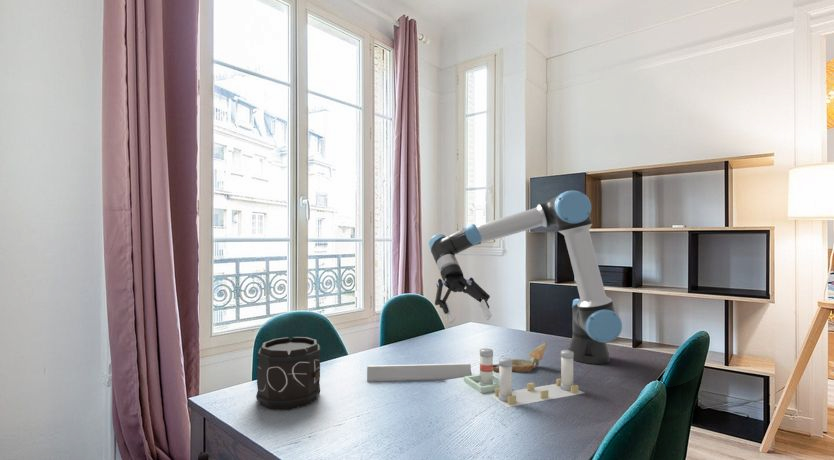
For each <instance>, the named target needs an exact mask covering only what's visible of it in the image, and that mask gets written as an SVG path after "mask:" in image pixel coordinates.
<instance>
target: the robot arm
mask: <svg viewBox="0 0 834 460" xmlns="http://www.w3.org/2000/svg"><path fill="white" fill-rule="evenodd" d="M591 212H592V203H591V200H590V198H589V197H588V196H587V195H586V194H585V193H583V192H581V191H579V190H566V191H563V192H561V193H560V194H558V195H556V196H555V197H552V198H551V199H549V200H547V201H544V202H542V203H538V204H537V205H536V207H533V208H530V209H528V210H527V209H526V210H524V211H521V212H520V211H519V212H516V213H513V214H510V215H507V216H504V217H501V218H498V219H493V220H490V221H487V222H484V223H481V224H477V225H476V224H475V223H471V224H469V225H466V226H465V227H463V228H461V229H459V230H457V231H455V232H453V233H451V234H450V235H449V234H448V235H447V236H446V234H444V233H438V234H435V235H433V236H432V237H431V238H430V239H429V241H428V246H429V249H430V253H431V254H432V257H433V259H434V261H435V264H436V266H437V269H438V271H439V273H440V276H441V278H438V280H437V282H436V287H437V288H436V293H435V294H436V295H435V299H434V301H435V302H434V305H435V306H439V308H440V309H442V312H443V313H444V314H445V315H446V316H447V318H448V320H449V323H450V324H451V325H452V324H454V321H455V320H456V317H455V314H454V312H453V309H452V307H451V305H450V302H449V301H447V300H448V298H449V296H450V294H451V292H453V293H457V292H458V293H462V292H463V293H464V294H467V295H469V296H470V297H472V298H473V299H474V300H475V301H477V302H478V303H479V307H480V309H481V311H482V313H483V316H484V317H485V320H486V321H489V320H490V318H491V317H492V313H491V311H490V305H489V303H488V300H489V299H490V297H491V295H490V294H488V293H487V292H486V291H485V290H484V289H483V288H482V287H481V286H480V285H479V284H478V283H477V282H476V281H475V279H474V278H473V277H472V276H471V277H470V278H469V279H468V278H467V279H466V278H465V277H464V273H463V270H462V269H461V266H460V264H459V261H458V260H457V257H456V255H458V254H459V253H462V252H463V251H465V250H468V249H469V248H471V247H474V246H477V245H481V244H484V243H487V242H491V241H495V240H498V239H501V238H505V237H508V236H512V235H516V234H519V233H522V232H525V231H528V230H533V229H536V228H539V227H543V228H548V227H552V226H556V227H557V231H558V233H560V234H561V235H563V236H564V240H565V241H564V242H565V244H566V249H567V251H568V255H569V259H570V264H571V267H572V268H571V269H572V271H573V276H574V279H575V280H574V281H575V284H576V287H577V291H578V294H579V298H575V299H573V300H572V306H571V308H572V338H571V341H570V344H569V347H568V348H567V350H569V351H573V352H574V358H573V361H576V362H579V363H585V364H593V365H599V364H601V365H603V364H608V363H610V362H611V354H610V352H609V350H608V346H607V343H610V342H613V341H614V340H616V339H617V338H618V337H619V336H620V334H621V333H622V329H623V322H622V319H621V318H620V316H619V314H617V313H616V310H615V307H614V302H613V299H612V298H611V297H609V296H607V295H606V290H605V287H604V283H603V279H602V274H601V271H600V268H599V264H598V260H597V255H596V252H595V248H594V244H593V241H592V240H593V239H592V236H591V232H590V229H591V227H592V226H593V221H592V218H591ZM444 286H445V287H446V288H448V289H447V291H446V293H444V294H445V295H443V298H442V293H443V287H444ZM441 298H442V299H441Z"/></svg>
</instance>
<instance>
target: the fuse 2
mask: <svg viewBox="0 0 834 460" xmlns="http://www.w3.org/2000/svg"><path fill="white" fill-rule="evenodd" d="M573 358H574V352H573V351H569V350H568V349H562V350H561V351H560V378H561V389H562V390H565V391H571V386H572V385H575V384H574V360H573Z"/></svg>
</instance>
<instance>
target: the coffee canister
mask: <svg viewBox="0 0 834 460" xmlns="http://www.w3.org/2000/svg"><path fill="white" fill-rule="evenodd" d="M321 351H322V350H321V346H320V344H319V343H318V341H317V339H314V338H312V337H307V336H292V337H291V339H290V337H289V336H286V337H280V338H273V339H271V340H268V341H264V342H263V343H262V344H261V347H260V348H259V349H258V352H257V354H256V358H257V359H258V362H257V371H256V372H257V374H256V385H257V393H256V394H255V398H256V400H258V401H259V405H260V406H262V407H264V408H266V409H268V410H277V411H279V410H282V411H290V410H293V409H294V410H295V409H298V408H302V407H307V406H308V405H310V404H311V403H313V402H314V401H316V400H317V398H318V396H319V395H320V393H321V385H320V380H321V379H320V378H321V359H320V354H322V352H321Z"/></svg>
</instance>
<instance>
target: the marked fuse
mask: <svg viewBox="0 0 834 460" xmlns="http://www.w3.org/2000/svg"><path fill="white" fill-rule="evenodd" d="M493 356H494V349H491V348H487V347H486V348H480V349H479V374H480V381H479V383H478V384H479V385H481V386H486V385H493V384H494V381H492V378H493V374H494V373H493V372H494V371H493V365H494V364H493V362H494V361H493V360H494V357H493Z"/></svg>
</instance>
